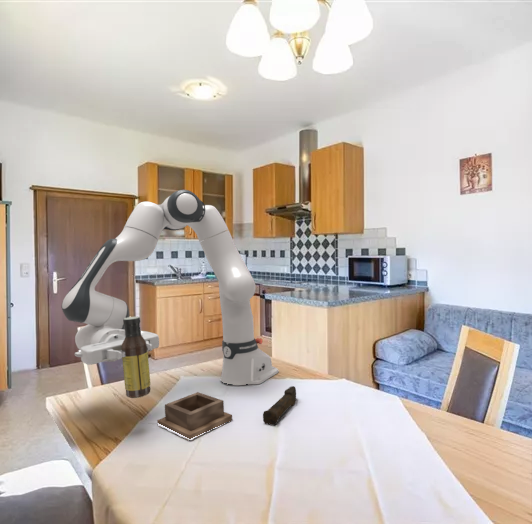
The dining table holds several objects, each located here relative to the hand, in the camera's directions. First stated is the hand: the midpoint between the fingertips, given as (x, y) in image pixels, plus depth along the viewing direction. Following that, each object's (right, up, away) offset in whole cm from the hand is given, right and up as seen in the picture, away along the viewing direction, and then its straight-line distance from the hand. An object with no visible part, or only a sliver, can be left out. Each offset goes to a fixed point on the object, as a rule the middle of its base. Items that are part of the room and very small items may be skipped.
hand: (136, 351), depth 94 cm
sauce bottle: (0, -11, +1) cm, 11 cm away
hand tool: (+37, -20, +10) cm, 43 cm away
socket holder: (+14, -20, +5) cm, 25 cm away
